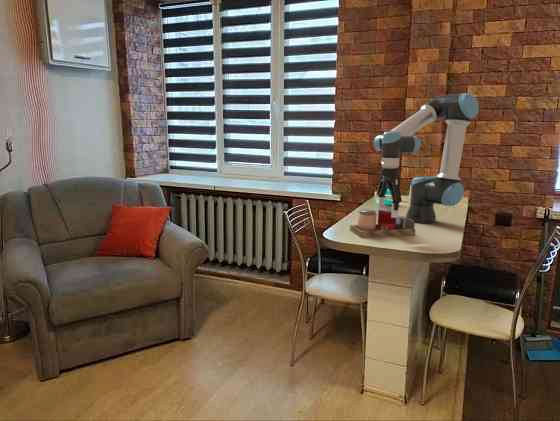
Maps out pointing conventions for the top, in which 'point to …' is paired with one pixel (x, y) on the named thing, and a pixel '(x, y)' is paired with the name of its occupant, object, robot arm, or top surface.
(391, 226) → the canned food
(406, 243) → the top surface
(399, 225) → the bar
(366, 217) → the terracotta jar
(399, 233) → the wooden box
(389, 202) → the donuts
